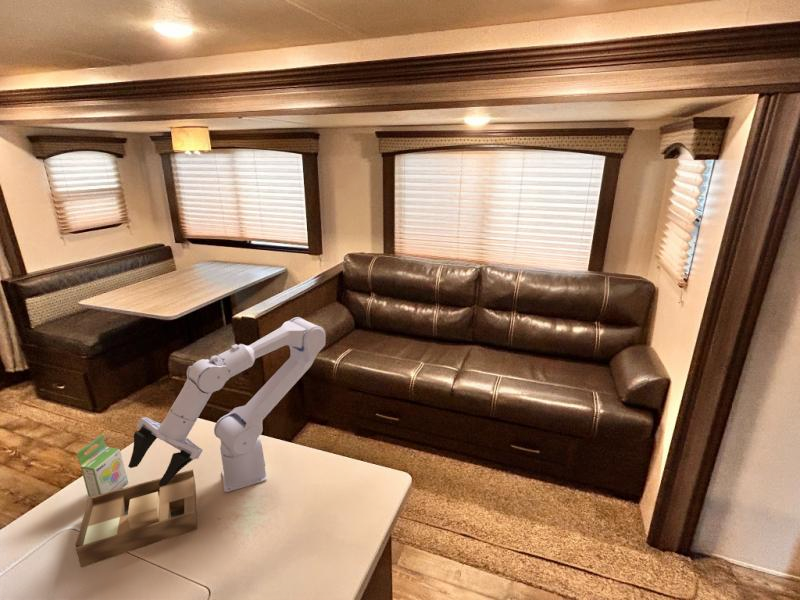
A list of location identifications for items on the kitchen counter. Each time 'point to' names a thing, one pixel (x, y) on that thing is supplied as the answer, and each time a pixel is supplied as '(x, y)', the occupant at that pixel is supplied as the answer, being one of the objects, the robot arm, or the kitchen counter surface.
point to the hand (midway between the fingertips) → (147, 475)
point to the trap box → (110, 527)
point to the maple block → (144, 510)
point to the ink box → (102, 468)
